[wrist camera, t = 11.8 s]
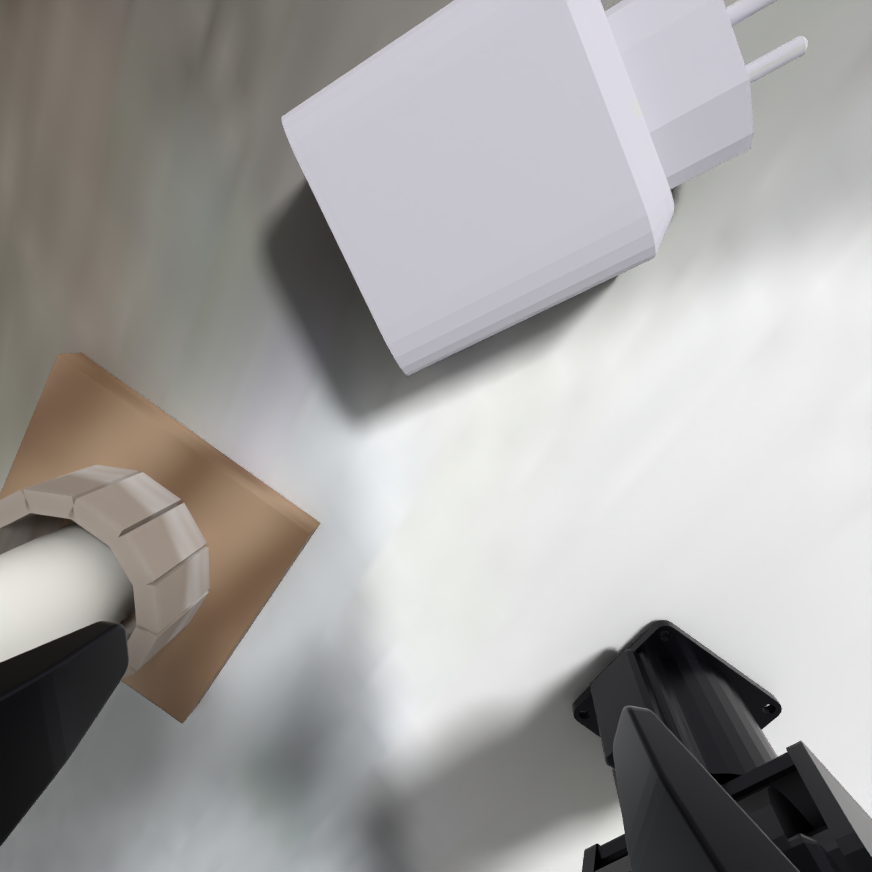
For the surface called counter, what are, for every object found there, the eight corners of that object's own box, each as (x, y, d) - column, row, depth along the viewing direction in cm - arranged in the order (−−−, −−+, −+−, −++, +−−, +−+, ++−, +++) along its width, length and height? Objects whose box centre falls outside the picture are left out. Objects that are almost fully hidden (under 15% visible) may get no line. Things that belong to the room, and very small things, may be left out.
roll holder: (320, 523, 23) (272, 572, 18) (196, 706, 27) (131, 784, 22) (81, 352, 23) (-27, 359, 18) (-9, 561, 26) (-116, 609, 22)
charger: (797, 188, 17) (425, 366, 20) (707, -82, 16) (327, 158, 19) (902, 139, 12) (400, 379, 16) (788, -248, 11) (269, 107, 15)
